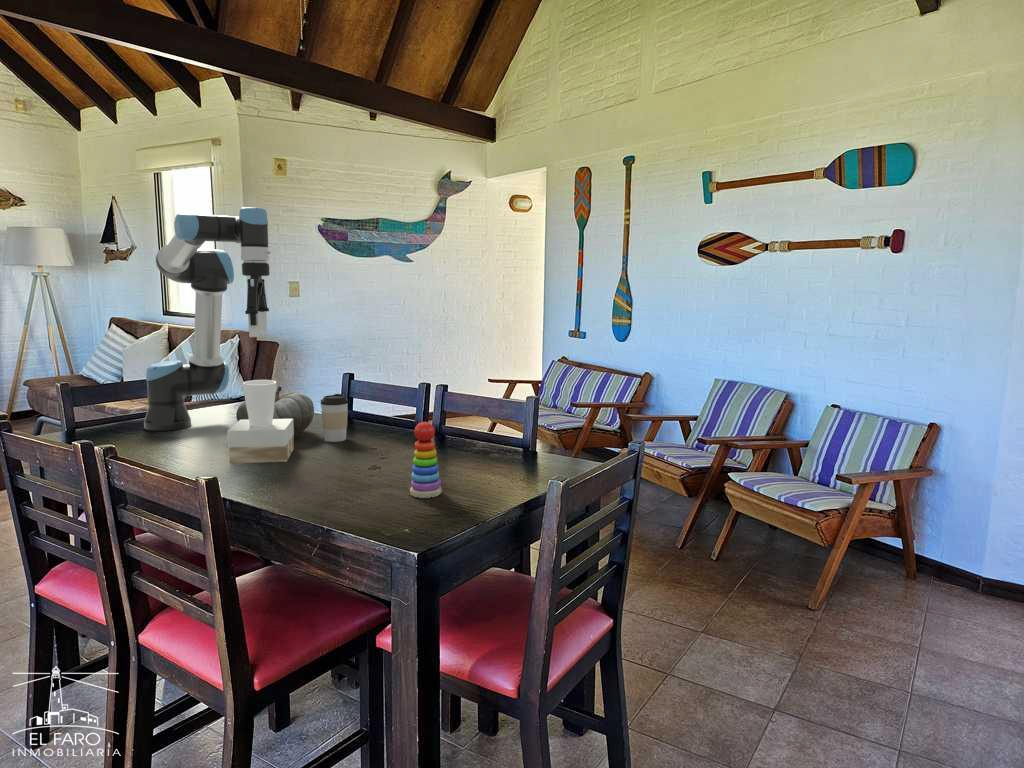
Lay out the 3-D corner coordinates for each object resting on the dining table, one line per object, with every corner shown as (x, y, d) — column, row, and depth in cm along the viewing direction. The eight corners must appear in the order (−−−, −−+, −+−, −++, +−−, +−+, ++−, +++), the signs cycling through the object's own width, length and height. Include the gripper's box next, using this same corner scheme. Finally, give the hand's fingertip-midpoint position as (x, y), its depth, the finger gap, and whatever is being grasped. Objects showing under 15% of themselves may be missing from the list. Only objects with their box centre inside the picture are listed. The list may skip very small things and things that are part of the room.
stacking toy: (410, 489, 177) (410, 418, 175) (442, 489, 178) (441, 418, 175) (409, 499, 170) (408, 425, 167) (441, 499, 170) (441, 425, 167)
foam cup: (284, 424, 209) (282, 382, 206) (258, 429, 201) (256, 386, 199) (263, 420, 214) (262, 378, 212) (237, 425, 206) (236, 382, 204)
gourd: (329, 430, 232) (317, 380, 229) (256, 452, 218) (242, 400, 215) (304, 424, 252) (293, 379, 250) (235, 445, 238) (222, 396, 236)
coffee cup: (341, 443, 226) (340, 398, 224) (316, 441, 228) (315, 397, 225) (353, 437, 235) (352, 393, 232) (329, 435, 236) (327, 392, 234)
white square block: (241, 435, 216) (240, 419, 215) (293, 434, 218) (293, 418, 217) (228, 447, 200) (227, 430, 199) (285, 446, 202) (284, 429, 202)
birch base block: (240, 451, 216) (240, 435, 215) (294, 449, 219) (293, 434, 218) (229, 464, 200) (229, 448, 199) (287, 462, 203) (286, 446, 202)
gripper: (261, 261, 189) (265, 338, 192) (275, 263, 213) (277, 331, 216) (233, 261, 187) (236, 338, 190) (249, 262, 211) (252, 331, 215)
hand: (258, 335), depth 203 cm, fingers open, 13 cm apart
